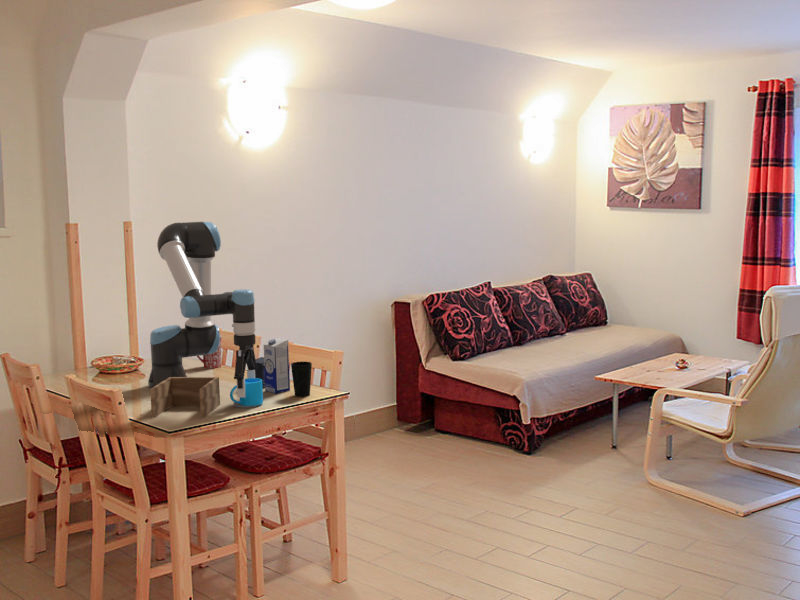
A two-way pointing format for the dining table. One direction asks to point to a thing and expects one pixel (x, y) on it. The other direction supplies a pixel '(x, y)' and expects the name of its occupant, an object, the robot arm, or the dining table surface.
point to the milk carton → (276, 365)
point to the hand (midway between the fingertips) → (246, 392)
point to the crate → (186, 394)
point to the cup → (301, 378)
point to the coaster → (243, 406)
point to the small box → (260, 370)
